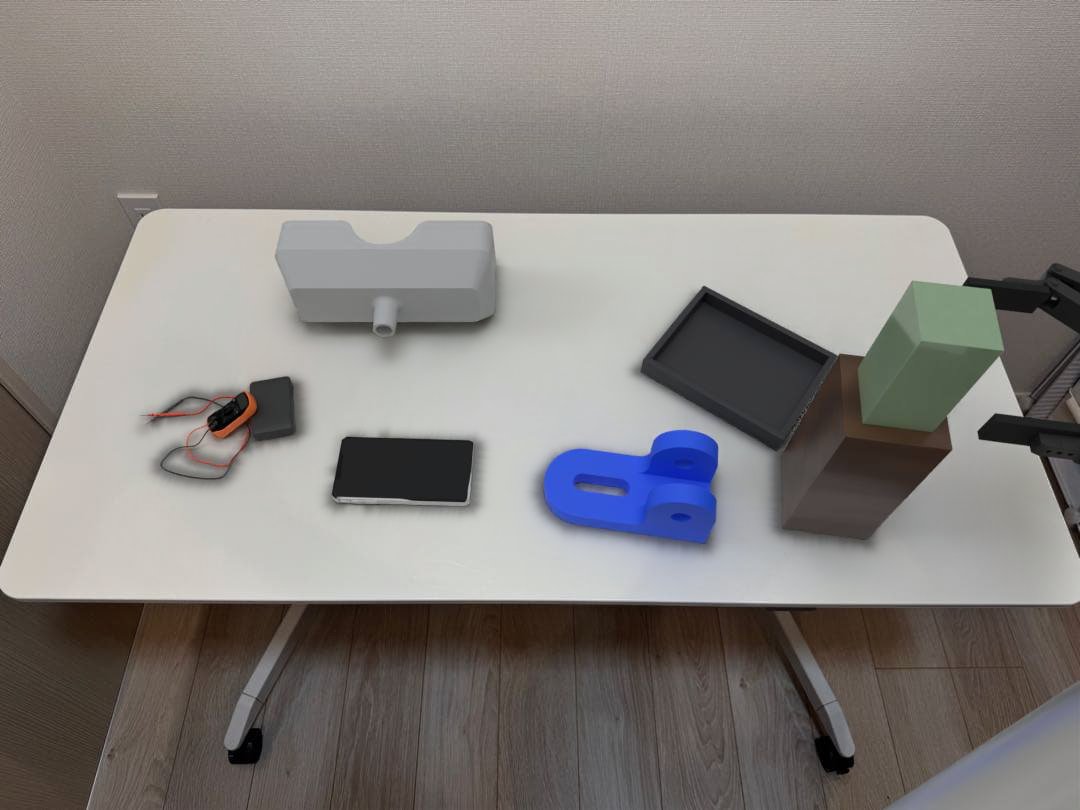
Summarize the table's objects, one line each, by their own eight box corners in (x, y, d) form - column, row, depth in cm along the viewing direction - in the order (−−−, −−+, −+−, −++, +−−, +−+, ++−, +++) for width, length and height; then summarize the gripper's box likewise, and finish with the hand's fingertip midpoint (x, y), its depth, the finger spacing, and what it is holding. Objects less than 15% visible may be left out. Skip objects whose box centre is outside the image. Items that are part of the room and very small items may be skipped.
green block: (932, 432, 66) (1004, 350, 56) (862, 423, 67) (921, 340, 57) (924, 376, 69) (991, 288, 59) (857, 368, 70) (912, 279, 60)
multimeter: (130, 489, 85) (115, 475, 82) (144, 399, 91) (132, 383, 88) (294, 470, 86) (286, 455, 83) (298, 382, 93) (290, 366, 90)
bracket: (707, 475, 86) (724, 435, 79) (704, 543, 82) (722, 508, 74) (550, 452, 88) (551, 411, 80) (538, 519, 83) (539, 481, 76)
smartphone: (468, 503, 83) (330, 499, 83) (469, 508, 84) (332, 504, 84) (473, 439, 87) (342, 435, 87) (474, 444, 88) (344, 440, 88)
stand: (866, 540, 82) (952, 450, 65) (782, 528, 83) (845, 436, 66) (860, 466, 87) (939, 364, 70) (780, 456, 88) (839, 353, 71)
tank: (290, 361, 94) (260, 295, 84) (310, 264, 103) (285, 193, 92) (493, 361, 95) (488, 295, 84) (496, 264, 103) (492, 193, 92)
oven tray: (776, 451, 88) (783, 440, 86) (640, 371, 94) (642, 359, 92) (831, 367, 94) (838, 355, 92) (700, 298, 100) (703, 285, 98)
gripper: (1269, 555, 57) (973, 515, 58) (1171, 298, 70) (933, 271, 71) (1361, 513, 50) (1027, 469, 52) (1235, 239, 64) (972, 211, 65)
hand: (972, 354), depth 62 cm, fingers open, 13 cm apart
